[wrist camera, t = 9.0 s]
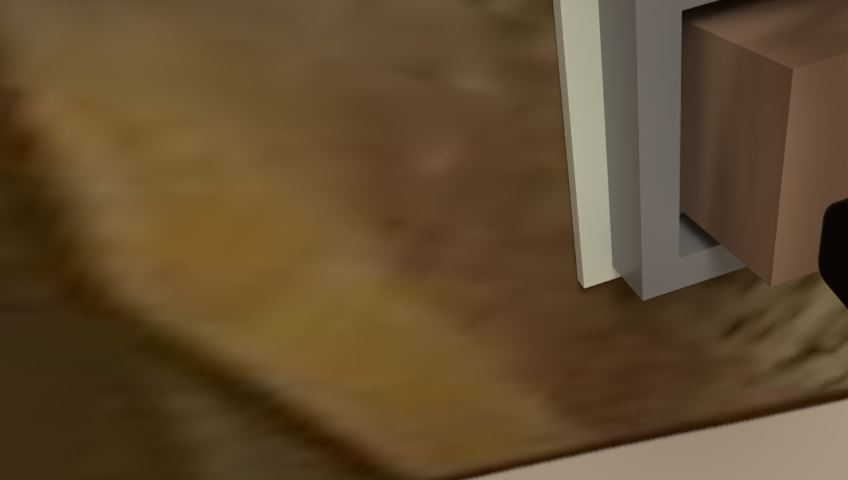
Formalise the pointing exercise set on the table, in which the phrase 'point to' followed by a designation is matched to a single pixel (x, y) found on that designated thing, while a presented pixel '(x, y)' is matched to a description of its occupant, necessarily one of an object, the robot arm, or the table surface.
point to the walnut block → (764, 127)
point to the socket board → (629, 146)
